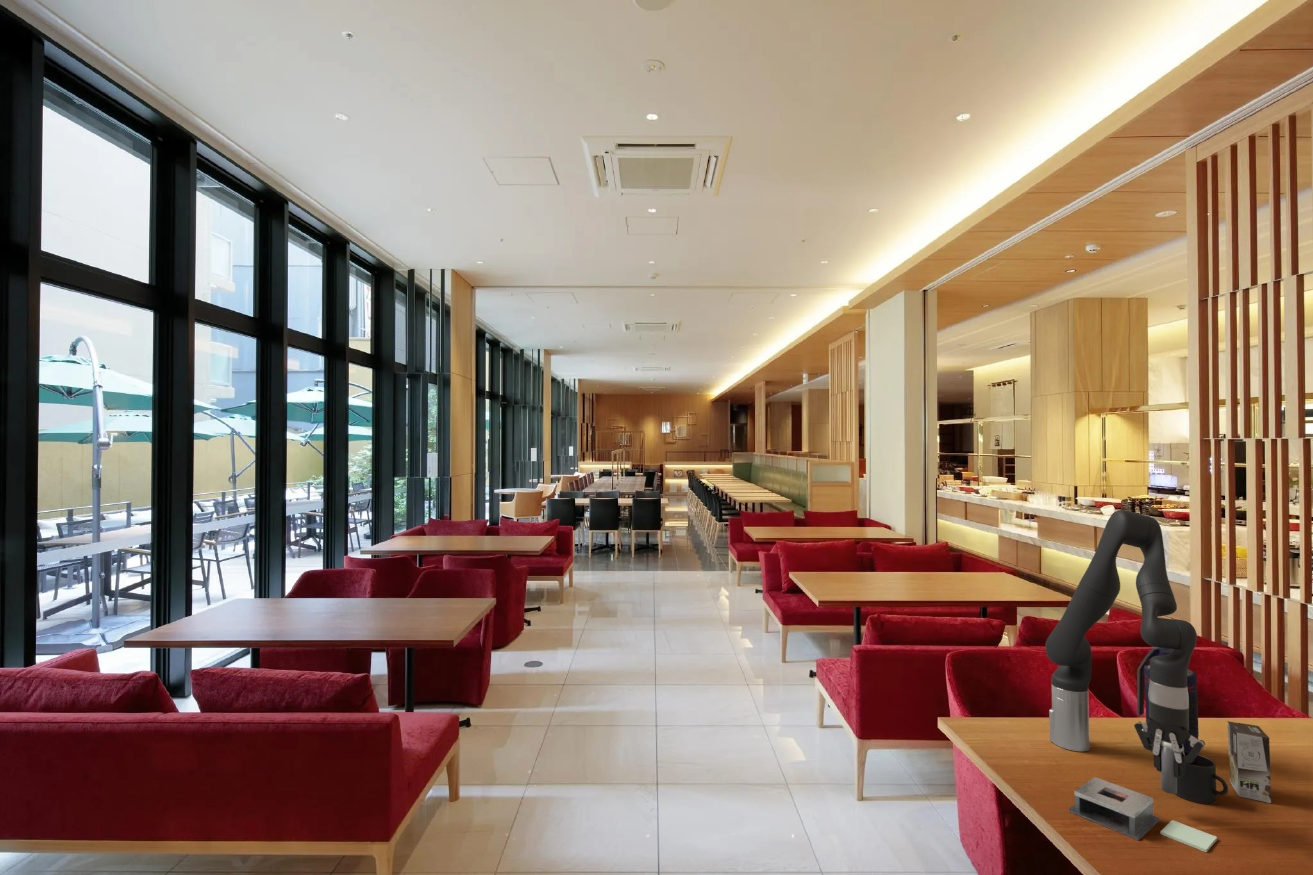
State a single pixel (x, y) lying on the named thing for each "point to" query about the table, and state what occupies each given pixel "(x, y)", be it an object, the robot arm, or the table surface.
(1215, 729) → the table surface
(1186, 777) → the mug
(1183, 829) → the pad
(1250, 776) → the coffee box
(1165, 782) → the peg
